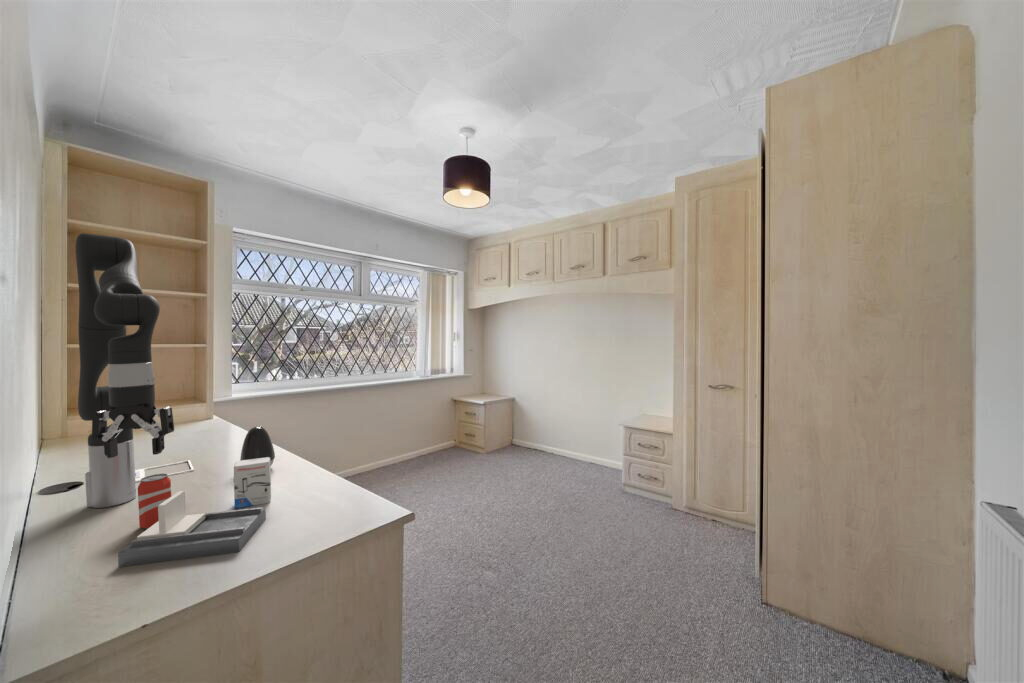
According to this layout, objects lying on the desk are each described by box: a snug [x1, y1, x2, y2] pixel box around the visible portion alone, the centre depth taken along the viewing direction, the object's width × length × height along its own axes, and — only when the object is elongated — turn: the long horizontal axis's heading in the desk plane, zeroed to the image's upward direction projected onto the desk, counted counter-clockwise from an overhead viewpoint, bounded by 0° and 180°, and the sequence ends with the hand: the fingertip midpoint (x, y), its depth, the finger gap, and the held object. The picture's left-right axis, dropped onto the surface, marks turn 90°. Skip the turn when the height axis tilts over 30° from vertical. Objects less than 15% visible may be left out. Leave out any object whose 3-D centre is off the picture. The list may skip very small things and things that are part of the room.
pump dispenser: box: [239, 425, 276, 467], centre depth 141 cm, size 10×10×15 cm
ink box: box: [233, 457, 272, 510], centre depth 114 cm, size 9×5×12 cm, turn 117°
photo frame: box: [135, 459, 195, 484], centre depth 141 cm, size 15×1×18 cm
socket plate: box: [117, 506, 267, 568], centre depth 94 cm, size 22×16×4 cm
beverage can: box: [137, 473, 172, 530], centre depth 102 cm, size 6×6×12 cm
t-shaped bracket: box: [136, 490, 206, 539], centre depth 92 cm, size 9×9×7 cm
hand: (135, 455), depth 91 cm, fingers open, 8 cm apart
